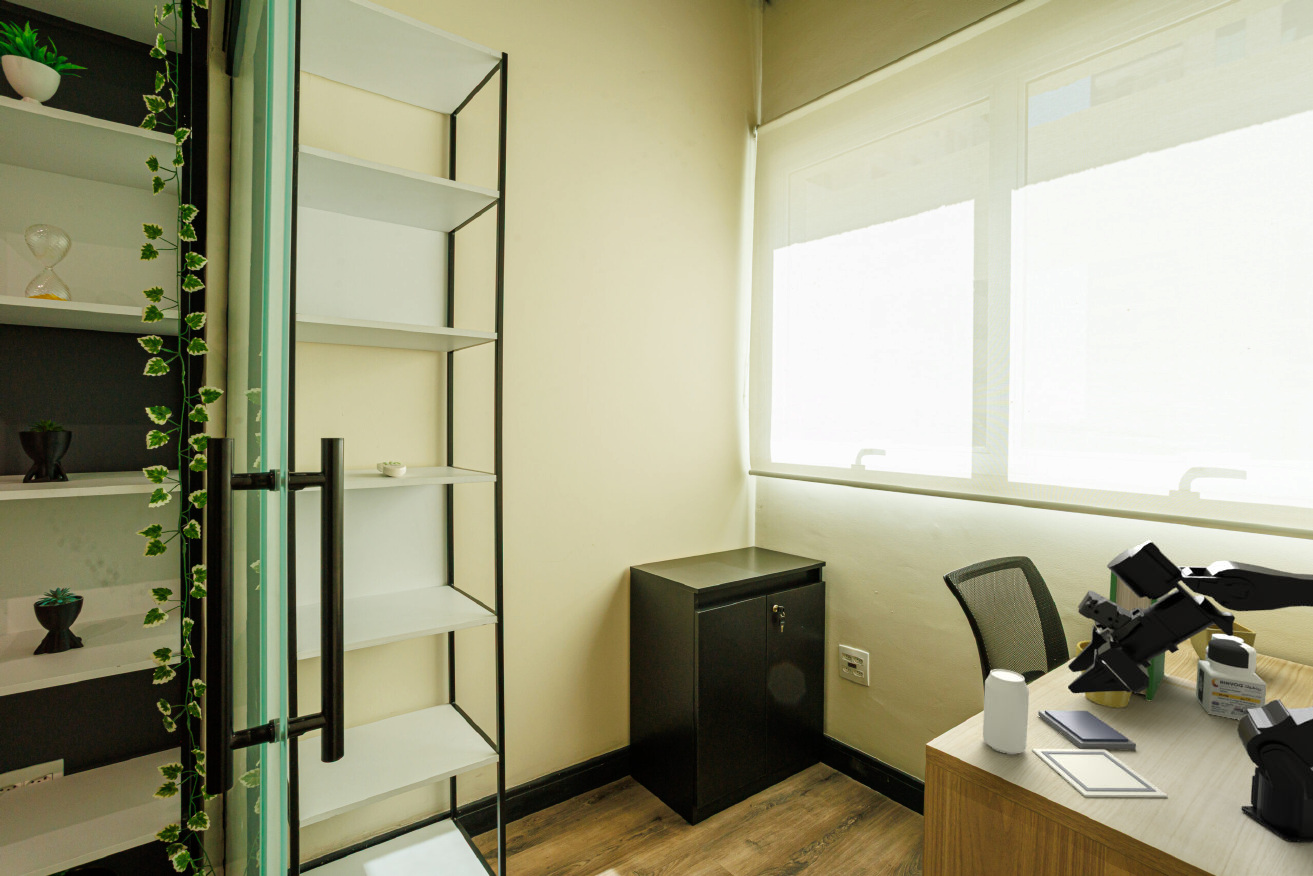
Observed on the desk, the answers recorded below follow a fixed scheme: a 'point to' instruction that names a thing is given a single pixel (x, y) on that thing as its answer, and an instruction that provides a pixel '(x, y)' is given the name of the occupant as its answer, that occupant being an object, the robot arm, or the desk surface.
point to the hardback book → (1131, 600)
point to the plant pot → (1105, 698)
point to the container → (1229, 680)
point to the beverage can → (1005, 711)
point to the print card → (1098, 773)
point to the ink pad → (1086, 730)
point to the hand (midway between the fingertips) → (1070, 679)
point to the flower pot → (1205, 636)
